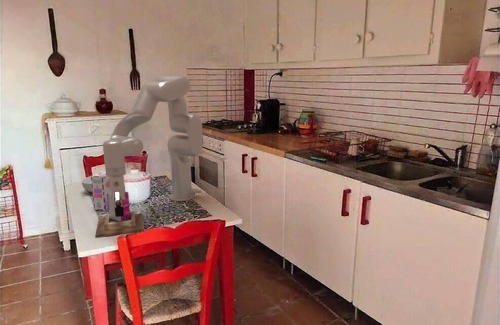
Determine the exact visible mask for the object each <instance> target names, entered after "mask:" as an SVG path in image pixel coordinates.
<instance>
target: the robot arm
mask: <svg viewBox="0 0 500 325" xmlns="http://www.w3.org/2000/svg"><path fill="white" fill-rule="evenodd" d="M190 89H191V82H190V79H189V78H188V77H187V76H184V75H161V76H158V77H156V79H155V80H154V81H147V82H144V83H143V84H142V87H141V88H140V89H139V90H140V91H139V93H138V95H137V97H136V100H135V103H134V104H133V107H132V109H131V110H130V112H129V113H127V114H126V115H125V116H124V117H123V118H122V119H121V120H120V121H119V122H118V123H117V124H116V125H115V127H114V129H113V132H112V134H111V136H110V139H108V140H105V141H103V143H102V151H103V152H102V153H103V159H104V168H105V171H106V176H107V177H109V178H110V187H111V194H112V199H113V201H115V216H116V217H120V216H124V210H123V206H122V200H123V199H124V200H125V199H126V195H125V192H126V186H125V184H126V183H125V177H124V176H125V175H127V171H126V170H127V169H126V161H125V160H126V159H125V158H126V157H132V156H133V157H134V156H137V155H139V154H141V153H142V152H143V149H144V143H143V141H142V140H141V139H140V138H138V137H134V136H129V134H130V133H131V132H132V131H133V130H134V129H135V128H137V127H139V126H141V125H144V124H145V123H148V122H150V121H151V120H152V117H153V115H154V113H155V110H156V108H157V105H158V104H159V103H167V109H168V122H169V129H170V130H171V132H174V133H179V134H174V135H172V136H170V137H169V138H168V141H167V144H166V145H167V150H168V151H167V152H168V154H169V159H170V172H171V186H172V188H171V190H172V192H171V194H170V195H169V199H170V200H171V201H174V202H186V201H191V200H193V199H194V198H196V194H201V193H202V189H201V188H193V187H192V168H191V166H192V165H191V161H190V158H189V157H198V156H200V155H201V153H202V151H203V146H204V145H203V142H204V141H203V139H204V138H203V122H202V119H201V118H200V116H199V115H198V114H196V113H194V112H193V113H192V112H188V110H187V103H186V102H187V101H186V99H185V96H186V95H187V94H188V93H189V92H190ZM180 133H181V134H180ZM185 134H187V135H185ZM119 196H120V198H121V199H119ZM115 198H116V199H115ZM120 201H121V203H120Z"/></svg>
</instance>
